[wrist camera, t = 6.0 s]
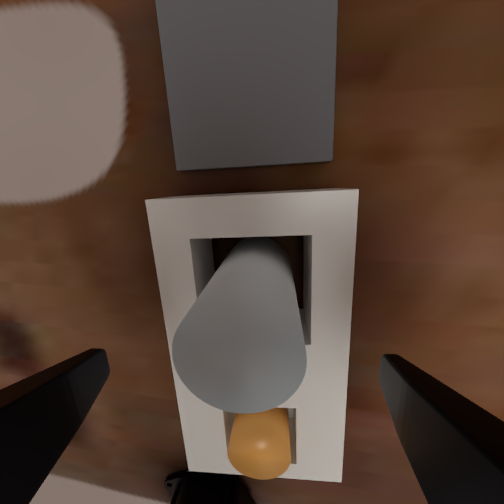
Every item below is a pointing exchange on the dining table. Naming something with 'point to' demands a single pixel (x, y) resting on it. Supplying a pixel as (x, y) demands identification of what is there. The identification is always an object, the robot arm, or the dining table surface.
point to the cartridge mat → (249, 81)
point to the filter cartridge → (244, 332)
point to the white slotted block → (312, 315)
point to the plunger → (260, 443)
